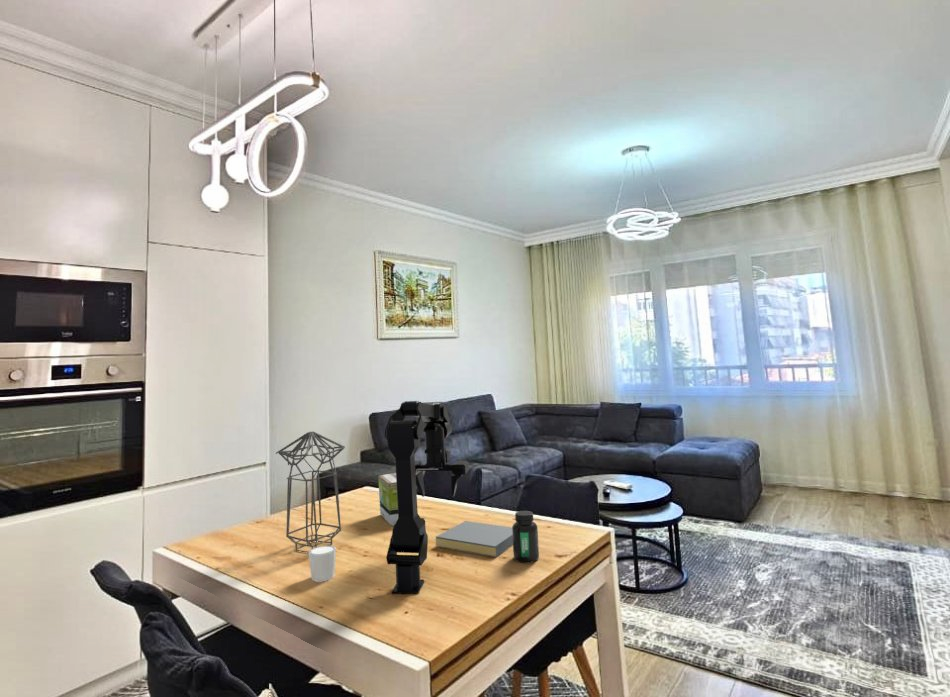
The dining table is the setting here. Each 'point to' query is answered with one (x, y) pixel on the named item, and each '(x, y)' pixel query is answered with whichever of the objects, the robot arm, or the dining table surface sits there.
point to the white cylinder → (322, 563)
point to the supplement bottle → (525, 537)
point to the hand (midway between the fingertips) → (438, 496)
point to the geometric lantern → (297, 448)
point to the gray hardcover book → (477, 538)
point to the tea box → (388, 497)
